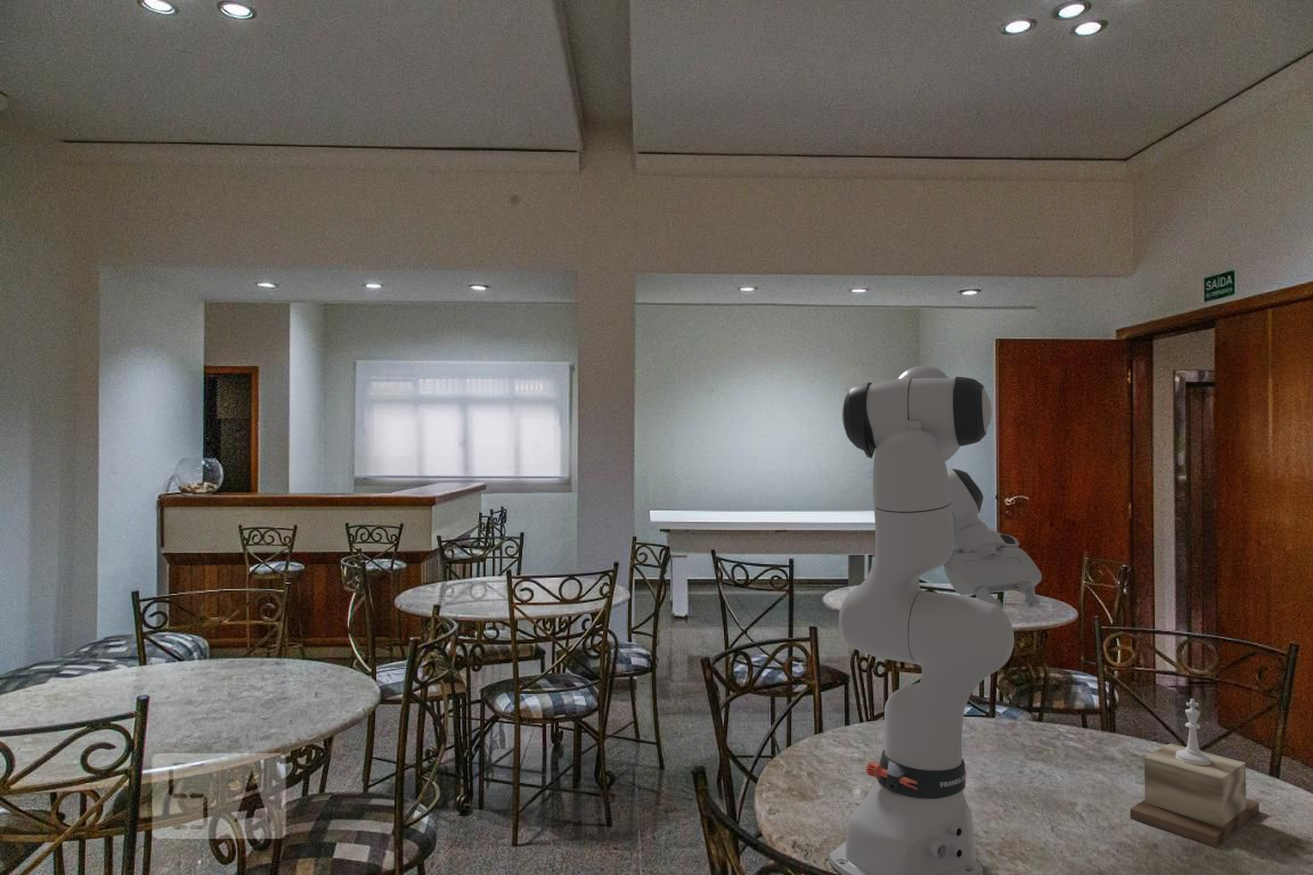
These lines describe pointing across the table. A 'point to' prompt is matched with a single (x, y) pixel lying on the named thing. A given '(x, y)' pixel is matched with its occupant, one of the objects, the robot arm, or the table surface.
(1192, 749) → the chess piece
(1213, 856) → the table surface
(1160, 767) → the walnut base
